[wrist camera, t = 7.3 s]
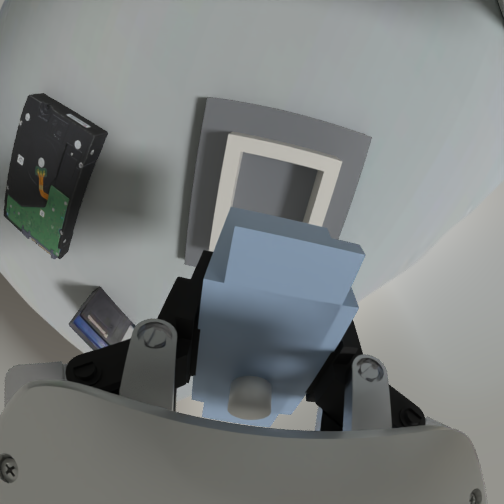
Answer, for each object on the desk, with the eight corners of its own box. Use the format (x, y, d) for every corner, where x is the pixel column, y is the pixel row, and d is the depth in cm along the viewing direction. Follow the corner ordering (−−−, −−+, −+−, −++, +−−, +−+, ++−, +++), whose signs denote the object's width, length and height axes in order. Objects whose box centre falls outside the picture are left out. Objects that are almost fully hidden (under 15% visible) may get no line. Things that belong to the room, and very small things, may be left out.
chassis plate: (367, 135, 18) (381, 140, 15) (315, 285, 25) (319, 306, 22) (210, 97, 18) (200, 95, 15) (187, 258, 24) (177, 277, 22)
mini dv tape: (145, 335, 31) (128, 373, 25) (137, 338, 31) (120, 374, 26) (100, 286, 27) (74, 321, 22) (93, 290, 28) (68, 324, 23)
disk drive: (45, 91, 17) (16, 208, 24) (26, 93, 15) (1, 217, 21) (113, 130, 20) (71, 252, 26) (95, 134, 17) (57, 265, 23)
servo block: (338, 194, 10) (398, 284, 5) (280, 348, 15) (280, 447, 9) (237, 170, 10) (200, 242, 5) (209, 335, 14) (186, 433, 9)
